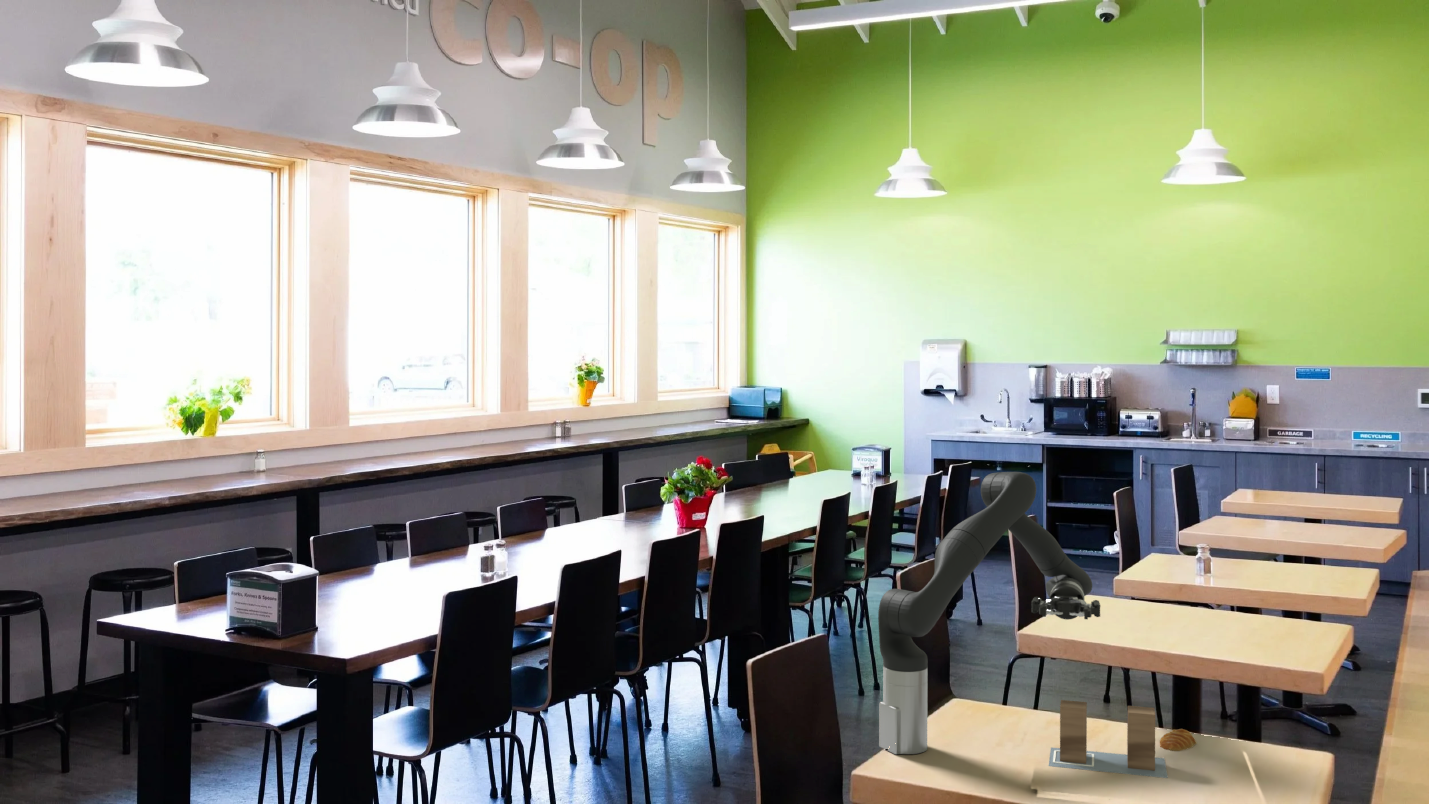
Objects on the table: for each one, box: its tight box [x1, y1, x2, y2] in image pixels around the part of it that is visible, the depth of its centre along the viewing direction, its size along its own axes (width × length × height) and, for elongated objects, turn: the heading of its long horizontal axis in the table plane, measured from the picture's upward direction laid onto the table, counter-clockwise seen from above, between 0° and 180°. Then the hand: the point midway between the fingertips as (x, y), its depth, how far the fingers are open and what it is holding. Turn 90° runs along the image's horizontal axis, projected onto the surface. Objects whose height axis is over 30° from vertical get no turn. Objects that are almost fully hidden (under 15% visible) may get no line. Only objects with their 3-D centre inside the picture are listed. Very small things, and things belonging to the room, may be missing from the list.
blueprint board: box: [1048, 747, 1168, 779], centre depth 231 cm, size 12×22×1 cm, turn 72°
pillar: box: [1059, 699, 1088, 764], centre depth 233 cm, size 5×5×11 cm
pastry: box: [1159, 728, 1198, 752], centre depth 242 cm, size 9×7×4 cm
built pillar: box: [1126, 705, 1156, 771], centre depth 228 cm, size 5×5×11 cm
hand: (1065, 613), depth 245 cm, fingers open, 8 cm apart
